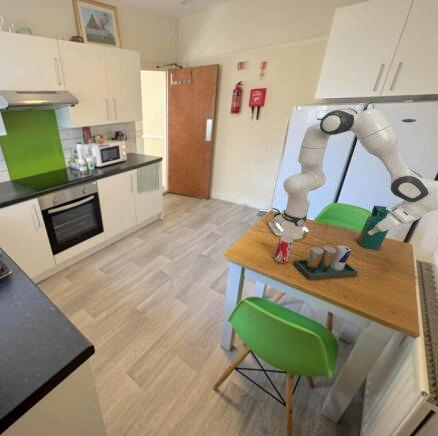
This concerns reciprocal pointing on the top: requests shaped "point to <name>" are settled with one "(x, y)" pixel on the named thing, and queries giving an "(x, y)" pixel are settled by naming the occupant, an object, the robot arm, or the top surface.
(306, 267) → the matching cans
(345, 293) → the top surface
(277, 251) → the soda can
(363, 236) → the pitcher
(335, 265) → the energy drink
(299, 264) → the drinks tray
